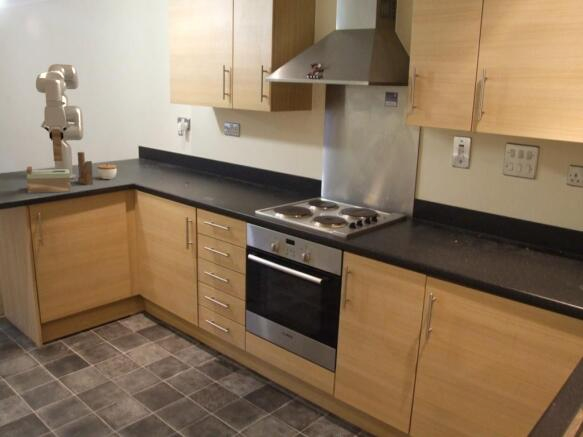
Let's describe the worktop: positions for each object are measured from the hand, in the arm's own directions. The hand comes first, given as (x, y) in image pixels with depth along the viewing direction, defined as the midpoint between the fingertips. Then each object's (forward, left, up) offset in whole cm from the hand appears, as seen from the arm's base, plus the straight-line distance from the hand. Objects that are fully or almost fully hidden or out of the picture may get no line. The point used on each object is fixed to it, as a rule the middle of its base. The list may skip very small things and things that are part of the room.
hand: (56, 139), depth 275 cm
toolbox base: (0, -5, -27) cm, 28 cm away
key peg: (0, 0, -11) cm, 11 cm away
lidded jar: (-30, +26, -27) cm, 48 cm away
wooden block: (-14, +13, -27) cm, 33 cm away
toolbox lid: (0, -5, -19) cm, 20 cm away
